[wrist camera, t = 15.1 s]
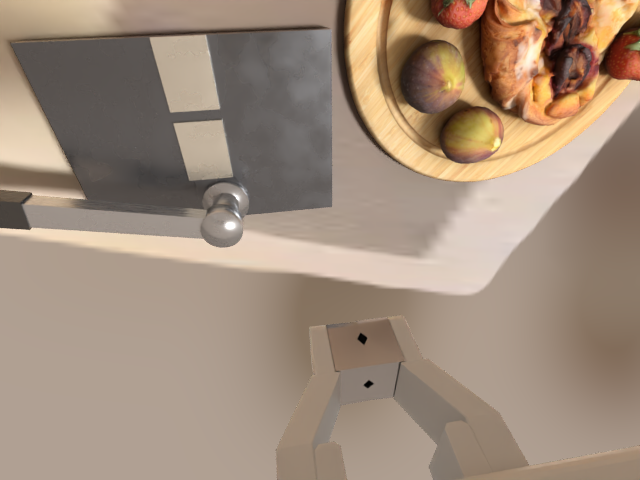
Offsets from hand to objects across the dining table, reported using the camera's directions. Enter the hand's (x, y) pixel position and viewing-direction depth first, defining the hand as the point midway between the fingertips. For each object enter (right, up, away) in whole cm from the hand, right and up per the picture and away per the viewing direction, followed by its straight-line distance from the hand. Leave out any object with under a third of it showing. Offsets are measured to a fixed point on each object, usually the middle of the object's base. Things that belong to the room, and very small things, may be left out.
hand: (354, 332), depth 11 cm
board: (-13, +14, +24) cm, 31 cm away
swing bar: (-19, +6, +22) cm, 30 cm away
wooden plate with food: (+17, +24, +23) cm, 37 cm away
